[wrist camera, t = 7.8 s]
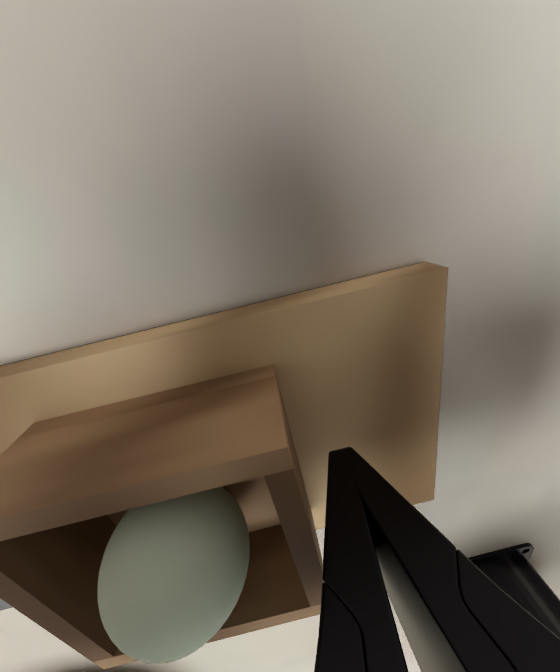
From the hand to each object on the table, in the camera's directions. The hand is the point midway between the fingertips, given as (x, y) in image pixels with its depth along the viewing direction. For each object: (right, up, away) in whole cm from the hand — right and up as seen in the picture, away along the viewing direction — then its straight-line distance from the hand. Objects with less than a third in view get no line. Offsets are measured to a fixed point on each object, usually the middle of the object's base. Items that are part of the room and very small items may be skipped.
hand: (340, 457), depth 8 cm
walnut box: (-5, -1, +1) cm, 5 cm away
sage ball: (-4, -2, -1) cm, 5 cm away
